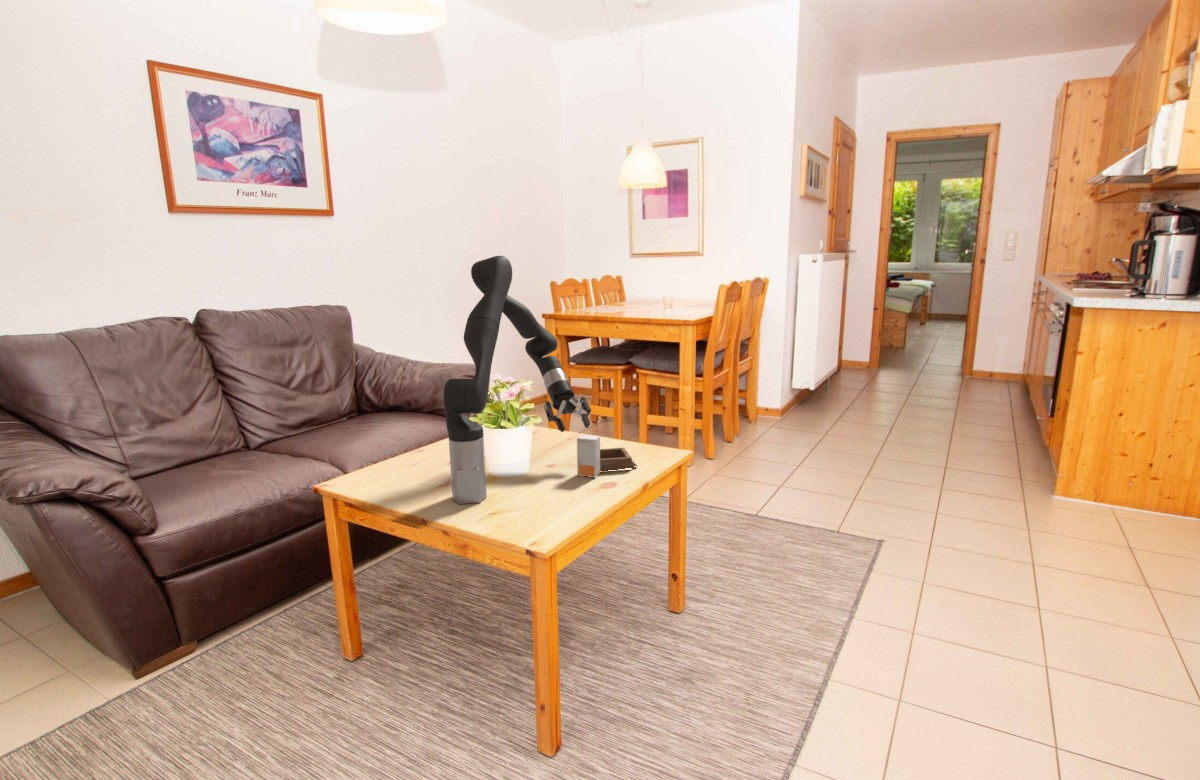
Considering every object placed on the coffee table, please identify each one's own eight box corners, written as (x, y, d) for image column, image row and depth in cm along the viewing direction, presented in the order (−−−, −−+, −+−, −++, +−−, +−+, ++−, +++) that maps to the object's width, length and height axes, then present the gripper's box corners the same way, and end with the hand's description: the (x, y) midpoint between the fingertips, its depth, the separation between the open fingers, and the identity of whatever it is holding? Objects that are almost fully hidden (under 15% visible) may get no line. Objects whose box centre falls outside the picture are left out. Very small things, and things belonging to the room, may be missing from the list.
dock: (638, 469, 194) (638, 457, 193) (596, 472, 192) (596, 460, 191) (630, 458, 204) (630, 447, 204) (590, 461, 202) (590, 449, 201)
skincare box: (577, 476, 189) (576, 438, 186) (582, 471, 193) (581, 434, 190) (596, 478, 187) (595, 439, 184) (600, 474, 191) (600, 435, 188)
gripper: (540, 381, 195) (558, 425, 187) (581, 376, 202) (599, 418, 194) (534, 395, 200) (551, 438, 193) (574, 390, 207) (591, 431, 200)
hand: (575, 428), depth 194 cm, fingers open, 8 cm apart
